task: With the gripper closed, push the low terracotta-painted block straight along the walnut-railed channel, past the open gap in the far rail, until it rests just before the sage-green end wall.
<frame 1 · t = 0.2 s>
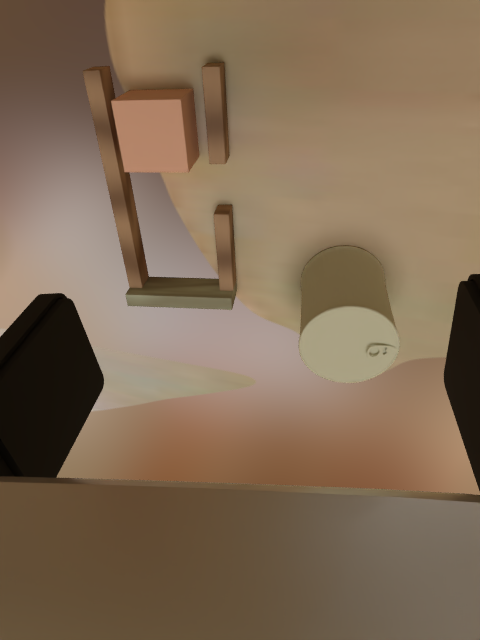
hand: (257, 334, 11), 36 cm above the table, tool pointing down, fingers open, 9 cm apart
block: (165, 123, 44), on the table
channel: (173, 185, 47), on the table
can: (341, 281, 51), on the table
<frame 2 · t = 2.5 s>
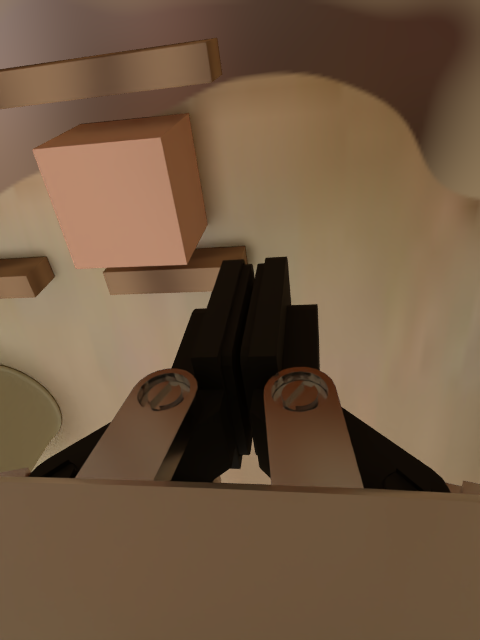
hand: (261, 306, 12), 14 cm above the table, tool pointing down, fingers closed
block: (147, 175, 25), on the table
channel: (48, 185, 26), on the table
can: (10, 402, 39), on the table
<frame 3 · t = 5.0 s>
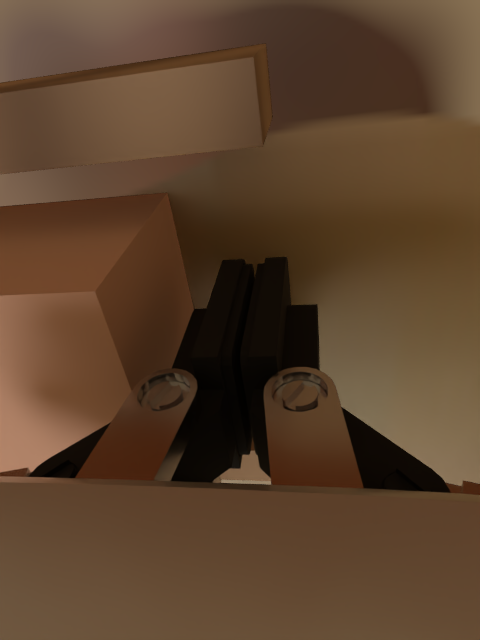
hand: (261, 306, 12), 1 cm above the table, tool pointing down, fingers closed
block: (98, 291, 14), on the table, touching gripper
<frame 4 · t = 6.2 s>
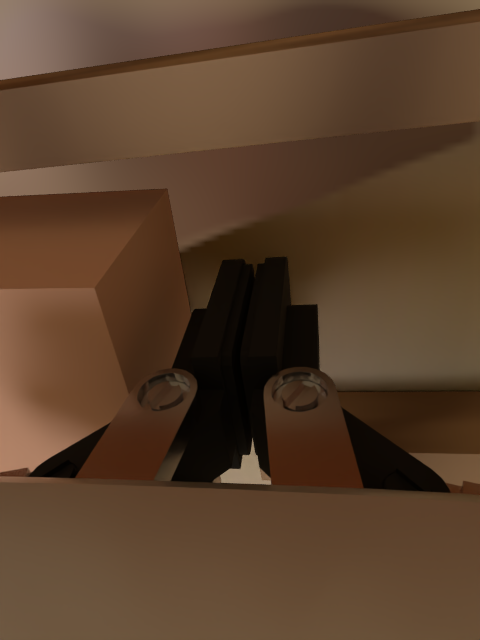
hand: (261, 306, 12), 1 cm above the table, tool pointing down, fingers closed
block: (93, 286, 14), on the table, touching gripper
channel: (151, 287, 14), on the table
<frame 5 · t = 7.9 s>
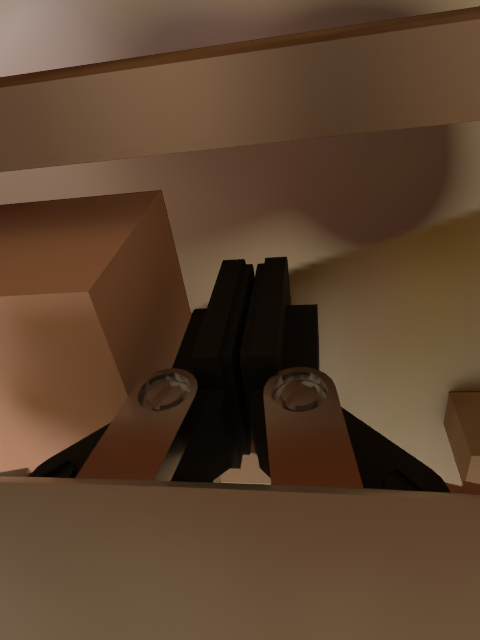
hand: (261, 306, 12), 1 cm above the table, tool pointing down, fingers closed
block: (92, 291, 14), on the table, touching channel, gripper
channel: (356, 277, 13), on the table
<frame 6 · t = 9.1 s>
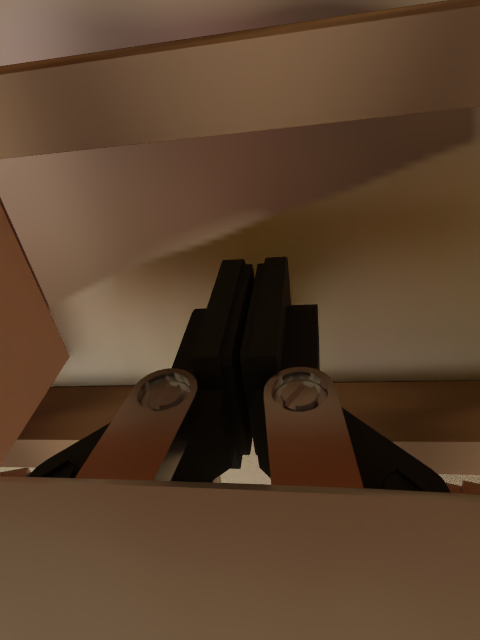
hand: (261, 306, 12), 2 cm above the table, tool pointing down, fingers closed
channel: (186, 276, 14), on the table
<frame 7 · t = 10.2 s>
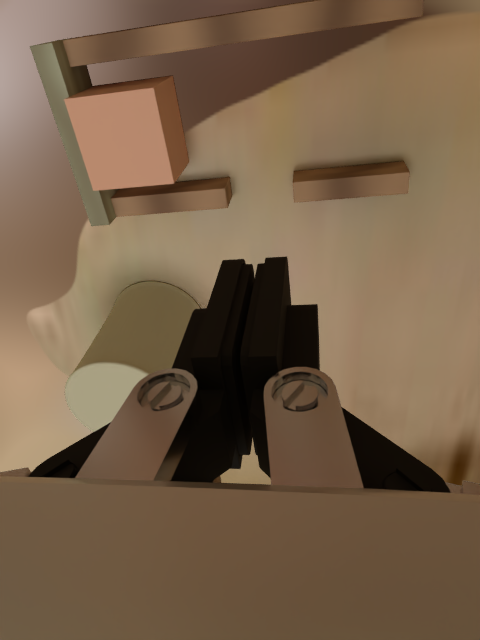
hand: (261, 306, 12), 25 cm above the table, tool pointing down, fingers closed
block: (143, 124, 34), on the table
channel: (247, 112, 33), on the table
can: (160, 319, 45), on the table
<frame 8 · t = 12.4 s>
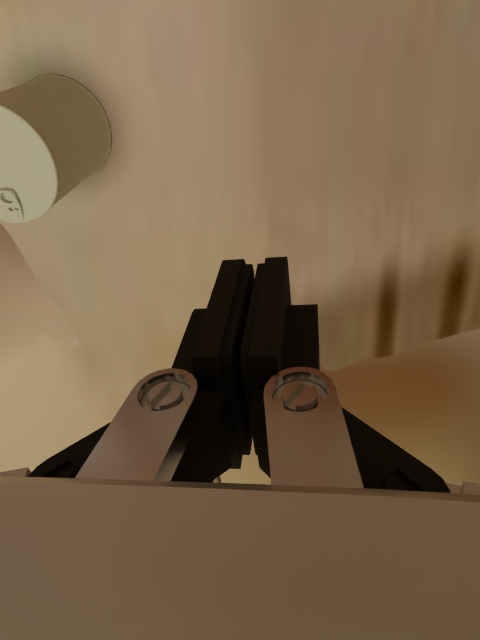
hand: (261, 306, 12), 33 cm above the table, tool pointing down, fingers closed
can: (65, 128, 43), on the table
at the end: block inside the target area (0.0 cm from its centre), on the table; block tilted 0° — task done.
